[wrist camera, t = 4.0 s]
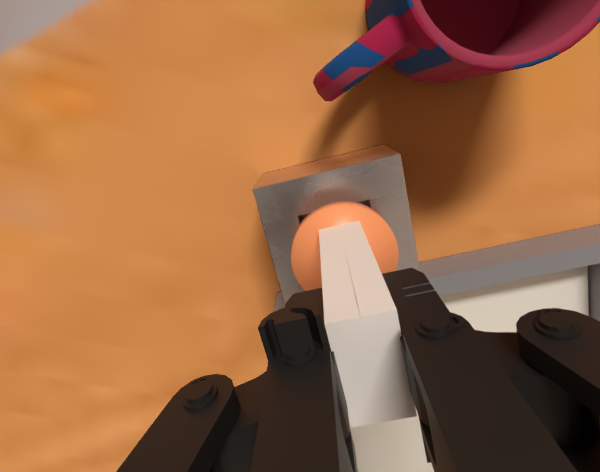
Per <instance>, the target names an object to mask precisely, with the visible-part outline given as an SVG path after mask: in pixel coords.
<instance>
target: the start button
mask: <svg viewBox="0 0 600 472" xmlns="http://www.w3.org/2000/svg"><path fill="white" fill-rule="evenodd" d="M355 221H360V223H361V226H362V228H363V230H364V233H365V235H366V238H367V240H368V242H369V245H370V247H371V250H372V252H373V254H374V257H375V259H376V261H377V264H378V266H379V269H380V271H381V273H382V274H383V273H388V272H393V271H396V269H397V265H398V258H399V251H398V245H397V241H396V238H395V236H394V234H393V232H392V230H391V228H390V227H389V225H388V224H387V222H386V221H385V220H384V219H383V217H382V216H381V215H380V214H379V213H377V212H376V211H375V210H373V209H372V208H370V207H368V206H366V205H363V204H361V203H357V202H352V201H337V202H331V203H328V204H325V205H323V206H320V207H318V208H317V209H315V210H313V211H312V212H311V213H310V214H308V215H307V216H306V217H305V218H304V219H303V221H302V222H301V223H300V225H299V227H298V228H297V230H296V233H295V235H294V239H293V243H292V251H291V264H292V269H293V272H294V275H295V277H296V279H297V281H298V283H299V284H300V285H301V287H302V288H303V289H304V290H305V291H309V290H313V289H318V288H322V276H321V259H320V243H319V229H324V228H328V227H333V226H337V225H341V224H346V223H350V222H355Z"/></svg>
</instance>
